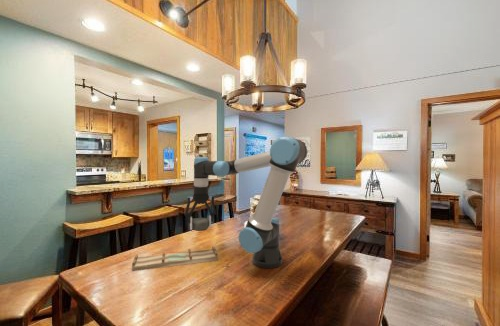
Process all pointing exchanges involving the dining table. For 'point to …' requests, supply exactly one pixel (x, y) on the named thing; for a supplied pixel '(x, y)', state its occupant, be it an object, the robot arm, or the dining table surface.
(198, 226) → the stone
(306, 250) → the dining table surface
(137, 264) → the ledge
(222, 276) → the dining table surface
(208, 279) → the dining table surface
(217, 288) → the dining table surface
